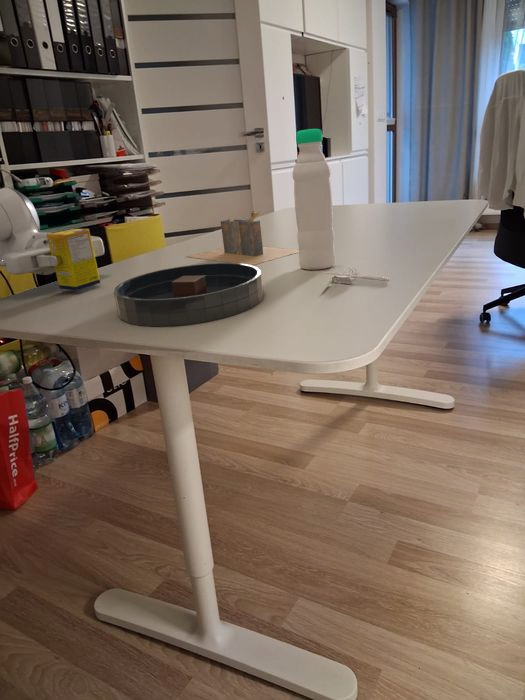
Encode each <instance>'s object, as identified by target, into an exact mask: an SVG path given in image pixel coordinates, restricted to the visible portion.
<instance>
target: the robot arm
mask: <svg viewBox="0 0 525 700" xmlns="http://www.w3.org/2000/svg"><path fill="white" fill-rule="evenodd" d="M40 223H41V222H40V219H39V216H38V212H37V210H36V208H35V206H34V204H33V202H32V201H31V199H29V198H28V197H27V196H26V195H24V194H23V193H22V192H20V191H19V190H17V189H15V188H12V187H9V186H4V187H2V188H0V268H4V269H5V272H6V273H8V274H12V275H15V276H18V275H19V276H20V275H25V274H34V275H41V276H47V275H51V274H52V275H53V274H54V273H56V272H55V268H54V266H57V265H61V264H62V261H61V256H60V255H53V256H52V255H51V251H50V247H49V243H48V239H47V235H46V234H51V233H52V232H43V231H42V232H40V231H41V224H40ZM90 237H91V241H92V246H93V251H94V255H95V258H96V257H101V256H104V255H105V246H104V241H103V239H102V238H101V237H100V236H95V235H90Z"/></svg>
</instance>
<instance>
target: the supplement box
mask: <svg viewBox="0 0 525 700" xmlns="http://www.w3.org/2000/svg"><path fill="white" fill-rule="evenodd" d="M50 233H51V234H46V235H47V239H48V243H49V247H50V251H51V255H52V256H53V255H60V256H61V261H62V264H61V265H57V266H54V268H55V272H54V273H55V274H56V275H55V276H56V280H57V283H58V287H59V290H68V291H79V290H82V289H85V288H88V287H91V286H95V285H98V284H101V279H100V273H99V270H98V264H97V260H96V257H95V255H94V251H93V246H92V241H91V237H90V236H91V233H90V228H71V229H67V230H62V231H56V232H50Z"/></svg>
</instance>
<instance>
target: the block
mask: <svg viewBox="0 0 525 700" xmlns="http://www.w3.org/2000/svg"><path fill="white" fill-rule="evenodd" d="M171 284H172V290H173V296H174V298H180V297H188V296H195V295H202V294H207V287H206V280H205V276H182V277H180V278H178V279H176V280H174V281H172V282H171Z"/></svg>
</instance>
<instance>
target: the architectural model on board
mask: <svg viewBox="0 0 525 700" xmlns="http://www.w3.org/2000/svg"><path fill="white" fill-rule="evenodd" d="M259 215H260V211H257V212H255V210H253V211H252V212H250V218H249V219H233V220H231V219H230V218H229V219H223V220H220V229H221V235H222V244H223V247H224V250H223V249H220V248H221V247H220V248H215V249H216V250H215V249H211V250H207V251H203V252H199V253H195V254H191V255H187V256H185V257H186V258H192V259H194V258H195V259H201V260H208V261H215V262H221V263H238V264H247V265H252V266H255V265H258V264H263V263H266V262H269V261H272V260H277V259H280V258H284V257H288V256H291V255H294V254H297V253H298V254H299V249H296V248H295V249H294V248H283V247H273V246H272V247H271V246H264V245H263V239H262V227H261V220H255V219H257V217H259Z"/></svg>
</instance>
